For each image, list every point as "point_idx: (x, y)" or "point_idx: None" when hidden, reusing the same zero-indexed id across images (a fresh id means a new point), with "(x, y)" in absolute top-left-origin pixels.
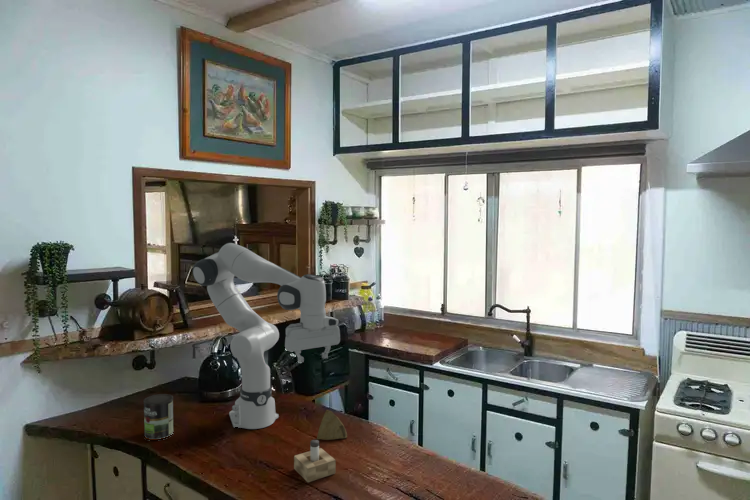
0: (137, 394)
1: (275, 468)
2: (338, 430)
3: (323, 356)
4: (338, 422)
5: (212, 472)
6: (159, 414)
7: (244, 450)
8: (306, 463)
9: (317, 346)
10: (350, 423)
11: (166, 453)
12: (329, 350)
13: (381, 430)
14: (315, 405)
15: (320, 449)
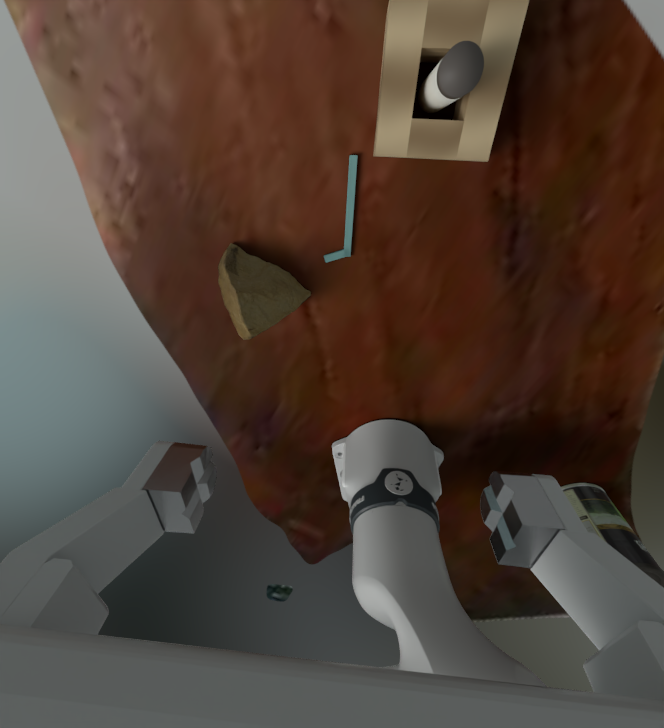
0: (489, 615)
1: (511, 204)
2: (244, 269)
3: (202, 471)
4: (235, 280)
5: (641, 294)
6: (629, 539)
7: (498, 350)
8: (500, 56)
9: (280, 694)
10: (182, 320)
11: (627, 433)
12: (63, 520)
13: (105, 223)
14: (228, 445)
15: (384, 143)
